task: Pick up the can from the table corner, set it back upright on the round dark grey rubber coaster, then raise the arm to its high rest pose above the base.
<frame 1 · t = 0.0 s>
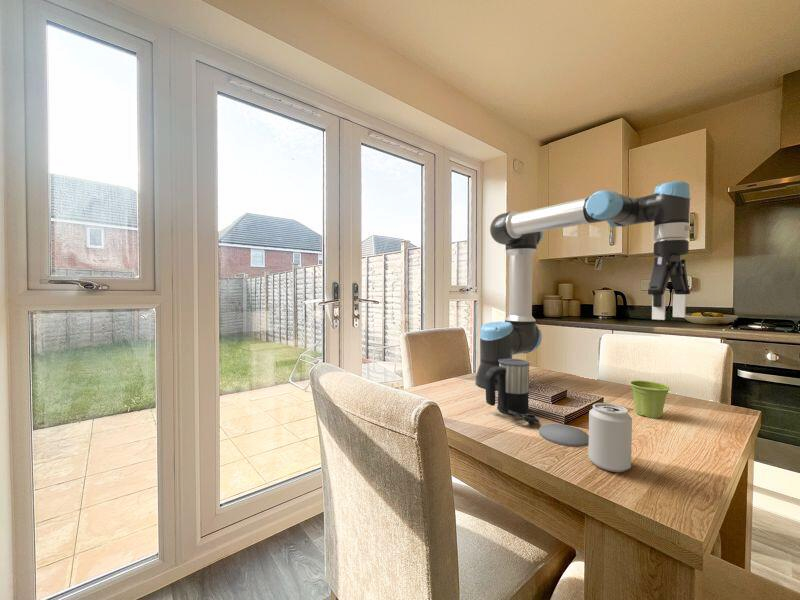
hand: (669, 318, 93), 28 cm above the table, tool pointing down, fingers open, 13 cm apart
coaster: (563, 435, 83), on the table
can: (609, 465, 70), on the table
plant pot: (648, 415, 98), on the table
milk frother: (518, 416, 97), on the table
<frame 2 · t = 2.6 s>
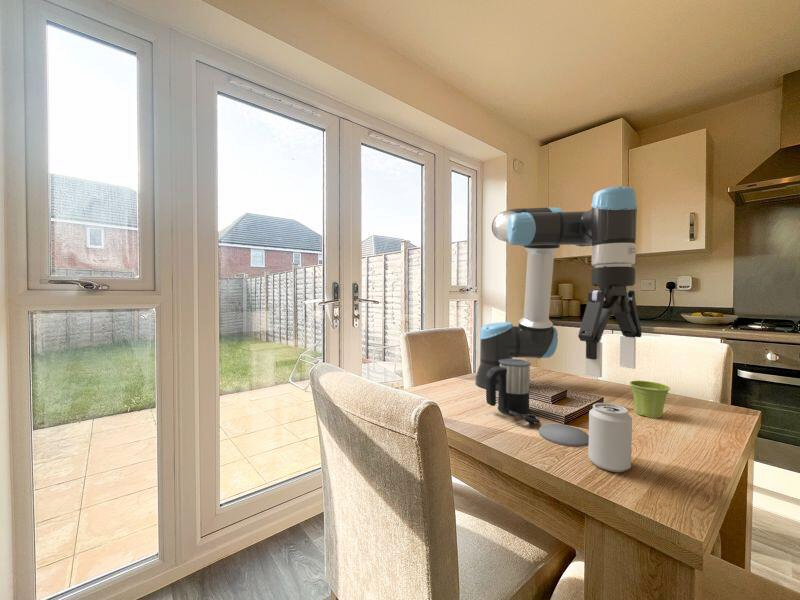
hand: (611, 371, 69), 19 cm above the table, tool pointing down, fingers open, 13 cm apart
nothing on the table moved.
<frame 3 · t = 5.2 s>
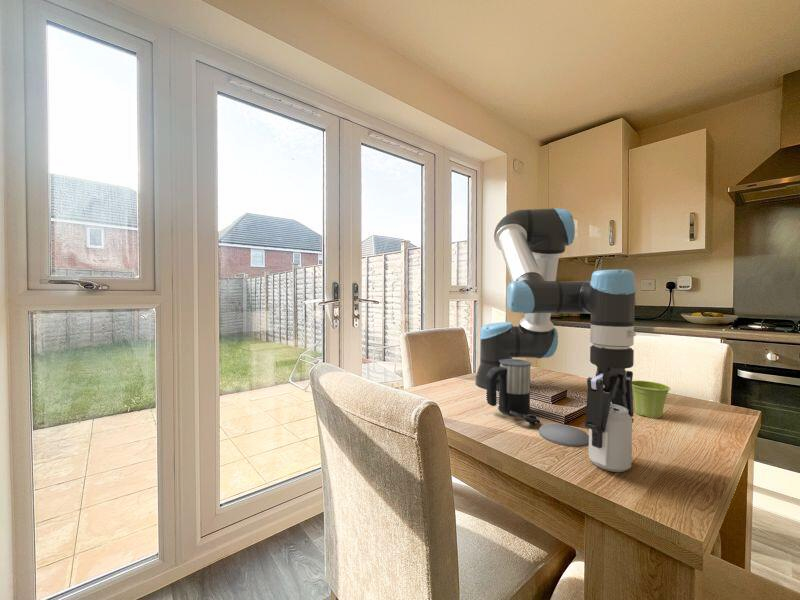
hand: (609, 456, 70), 2 cm above the table, tool pointing down, fingers closed on can, 7 cm apart
can: (609, 465, 70), on the table, touching gripper
everything else where it was.
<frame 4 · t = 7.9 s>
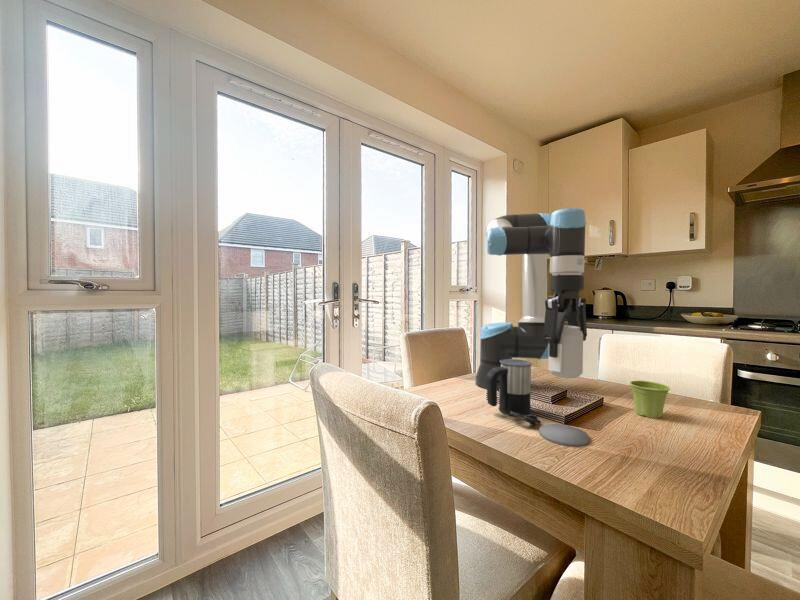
hand: (565, 368, 83), 17 cm above the table, tool pointing down, fingers closed on can, 7 cm apart
can: (565, 375, 83), point 15 cm above the table, touching gripper
everything else where it was.
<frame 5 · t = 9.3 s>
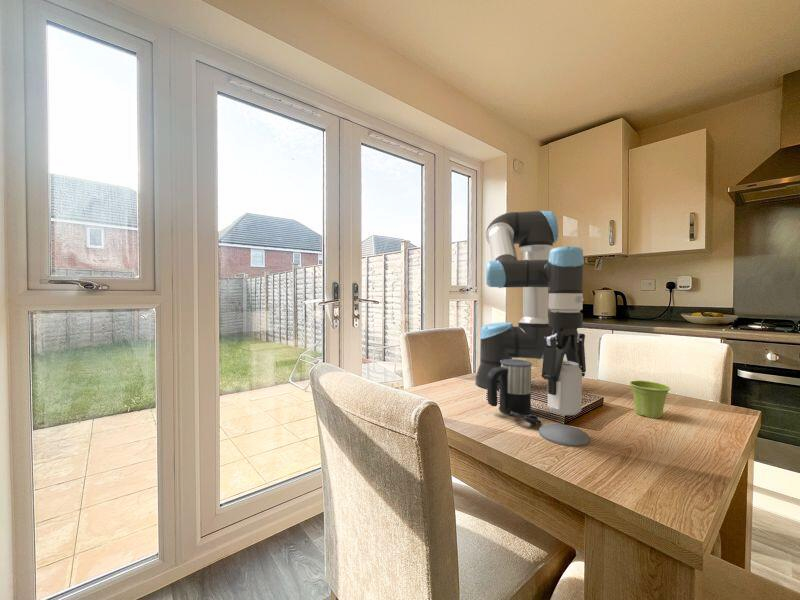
hand: (564, 404, 83), 8 cm above the table, tool pointing down, fingers closed on can, 7 cm apart
can: (564, 411, 83), point 6 cm above the table, touching gripper
everything else where it was.
when the fingers open (4 cm above the table, at t = 10.7 s): can drops 2 cm, resting on coaster.
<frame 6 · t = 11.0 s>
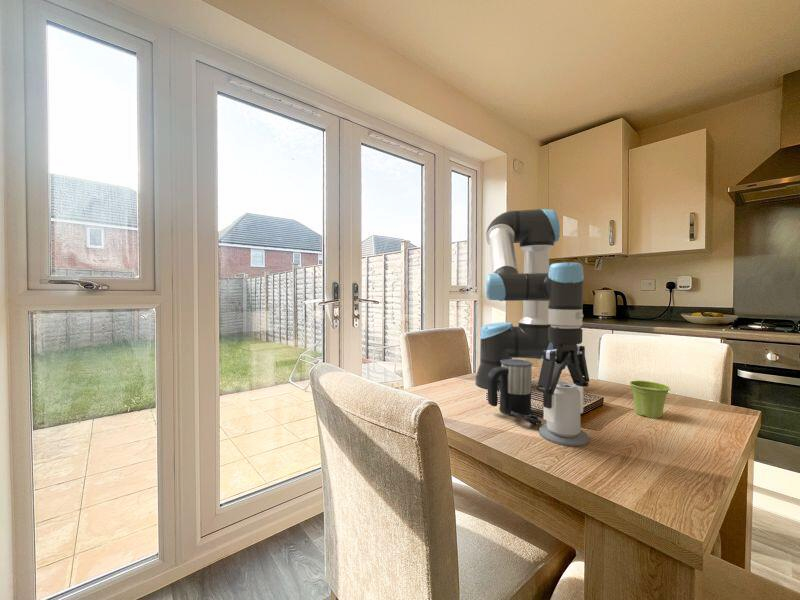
hand: (563, 415, 83), 5 cm above the table, tool pointing down, fingers open, 11 cm apart
can: (563, 433, 83), point 1 cm above the table, touching coaster
everything else where it was.
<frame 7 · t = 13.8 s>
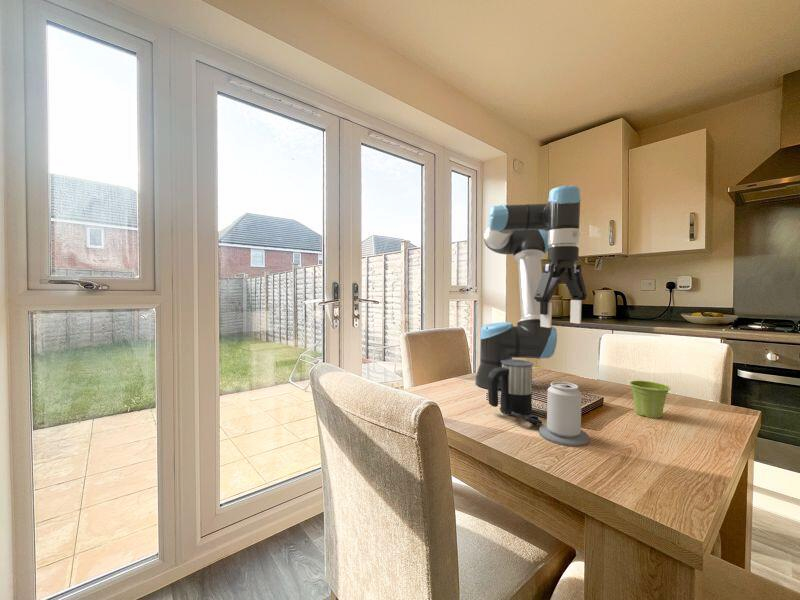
hand: (561, 325, 92), 26 cm above the table, tool pointing down, fingers open, 13 cm apart
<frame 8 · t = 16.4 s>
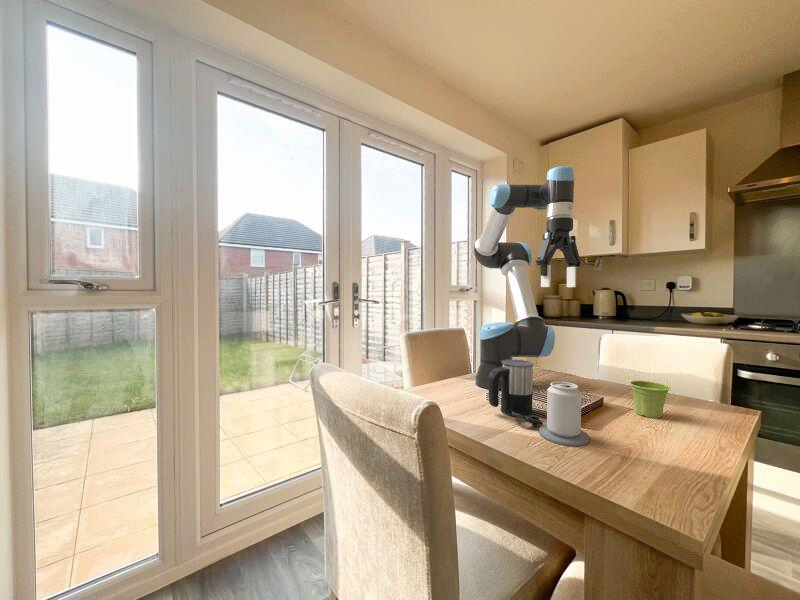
hand: (558, 287, 106), 37 cm above the table, tool pointing down, fingers open, 13 cm apart
at the end: can inside the target area on the coaster (0.0 cm from its centre), point 0.6 cm above the coaster's base; can tilted 0°; the gripper is holding nothing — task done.
